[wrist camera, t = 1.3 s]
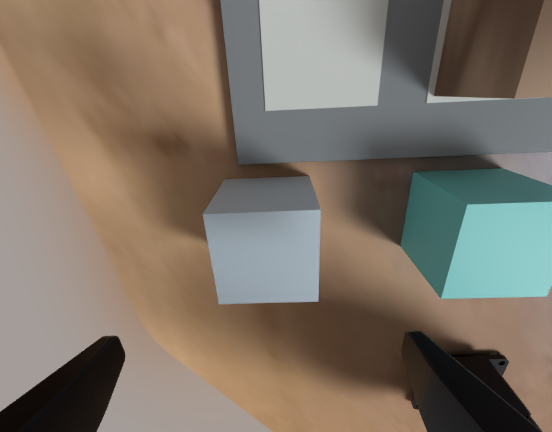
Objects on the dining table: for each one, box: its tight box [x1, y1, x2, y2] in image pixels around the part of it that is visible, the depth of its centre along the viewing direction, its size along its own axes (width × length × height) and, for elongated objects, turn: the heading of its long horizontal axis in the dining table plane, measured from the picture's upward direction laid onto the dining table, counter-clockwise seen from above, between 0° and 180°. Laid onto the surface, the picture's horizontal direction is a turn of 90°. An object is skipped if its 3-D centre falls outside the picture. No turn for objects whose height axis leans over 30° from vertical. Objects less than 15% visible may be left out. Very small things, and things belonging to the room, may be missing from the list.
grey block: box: [203, 176, 321, 304], centre depth 15 cm, size 5×5×5 cm
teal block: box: [400, 168, 552, 299], centre depth 14 cm, size 5×5×5 cm
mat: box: [220, 0, 552, 165], centre depth 13 cm, size 10×17×1 cm, turn 93°
